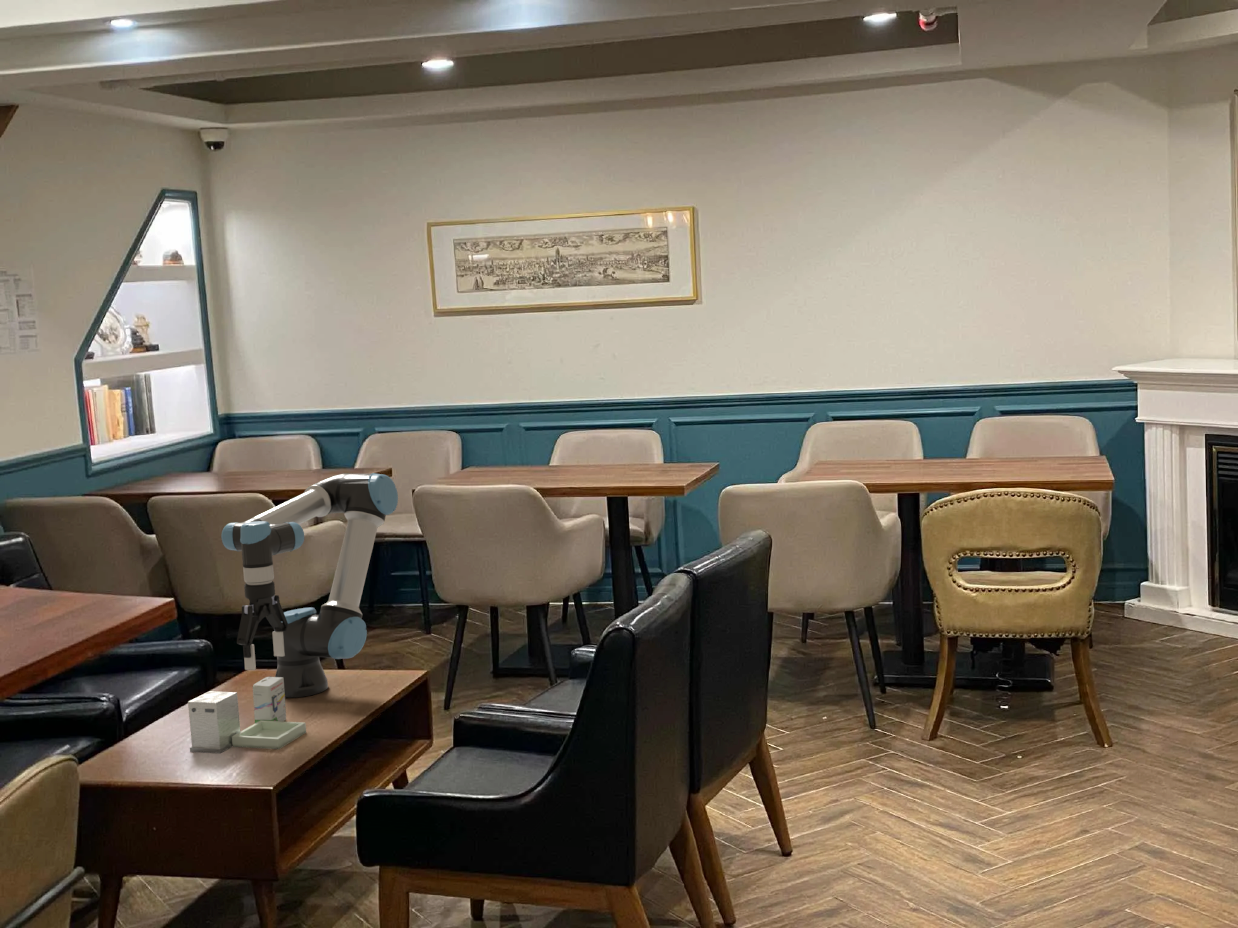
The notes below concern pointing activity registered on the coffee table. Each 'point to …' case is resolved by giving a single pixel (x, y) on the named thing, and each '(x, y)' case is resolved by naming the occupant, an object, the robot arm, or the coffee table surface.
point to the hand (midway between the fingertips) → (265, 662)
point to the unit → (213, 721)
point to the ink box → (269, 699)
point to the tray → (269, 734)
